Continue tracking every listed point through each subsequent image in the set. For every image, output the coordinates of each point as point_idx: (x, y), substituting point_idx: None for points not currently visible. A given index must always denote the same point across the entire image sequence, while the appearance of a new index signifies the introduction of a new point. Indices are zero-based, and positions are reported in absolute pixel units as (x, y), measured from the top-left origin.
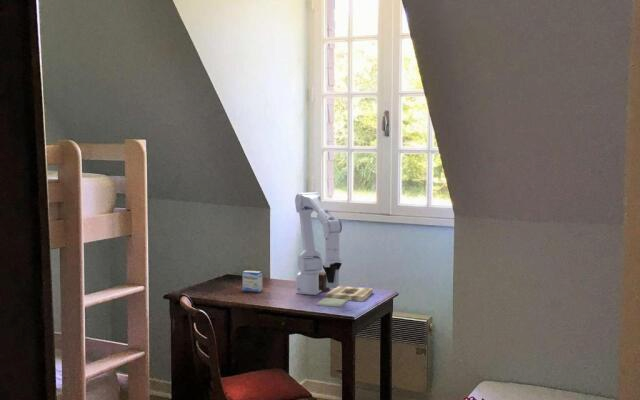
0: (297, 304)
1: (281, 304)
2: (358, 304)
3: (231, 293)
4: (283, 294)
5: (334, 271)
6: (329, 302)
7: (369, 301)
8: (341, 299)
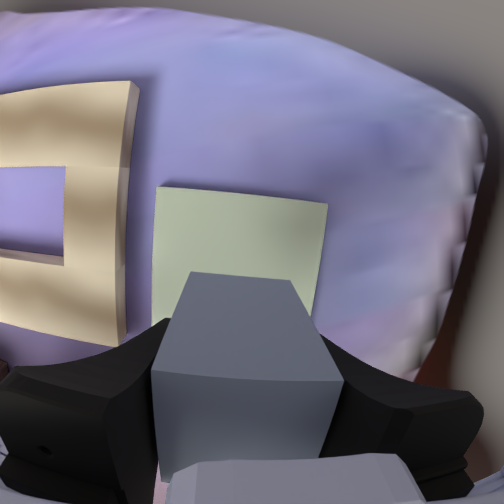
0: None
1: None
2: (227, 97)
3: None
4: None
5: (397, 383)
6: None
7: (134, 51)
8: (166, 228)
